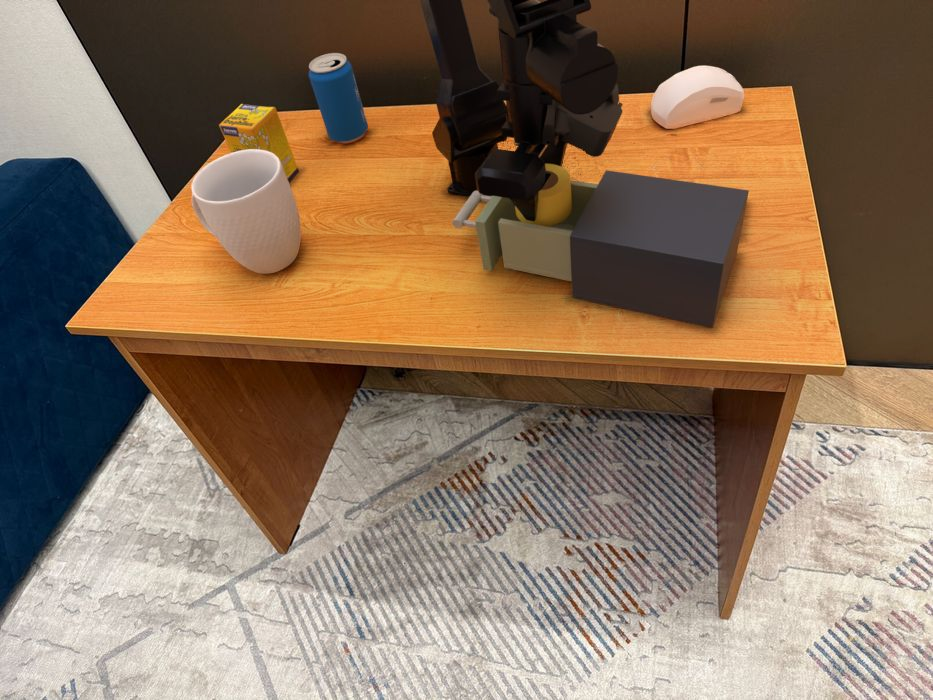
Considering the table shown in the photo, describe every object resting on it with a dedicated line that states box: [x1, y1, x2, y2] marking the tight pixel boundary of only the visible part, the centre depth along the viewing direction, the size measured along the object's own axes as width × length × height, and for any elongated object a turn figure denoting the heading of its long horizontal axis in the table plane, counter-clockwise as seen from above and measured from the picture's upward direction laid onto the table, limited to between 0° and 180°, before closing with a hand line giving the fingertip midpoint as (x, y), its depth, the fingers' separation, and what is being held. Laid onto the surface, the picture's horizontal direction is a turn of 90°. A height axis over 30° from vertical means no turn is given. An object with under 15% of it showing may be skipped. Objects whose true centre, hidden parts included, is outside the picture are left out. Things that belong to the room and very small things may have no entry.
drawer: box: [451, 179, 599, 283], centre depth 82 cm, size 19×11×7 cm, turn 64°
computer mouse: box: [650, 65, 745, 130], centre depth 99 cm, size 6×13×6 cm, turn 102°
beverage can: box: [308, 52, 369, 144], centre depth 106 cm, size 6×6×12 cm
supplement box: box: [218, 103, 300, 183], centre depth 101 cm, size 6×6×11 cm
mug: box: [190, 149, 302, 275], centre depth 88 cm, size 15×11×13 cm
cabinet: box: [570, 170, 750, 329], centre depth 76 cm, size 16×12×9 cm
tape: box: [515, 164, 572, 226], centre depth 78 cm, size 6×6×4 cm
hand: (542, 202), depth 79 cm, fingers closed on tape, 6 cm apart
